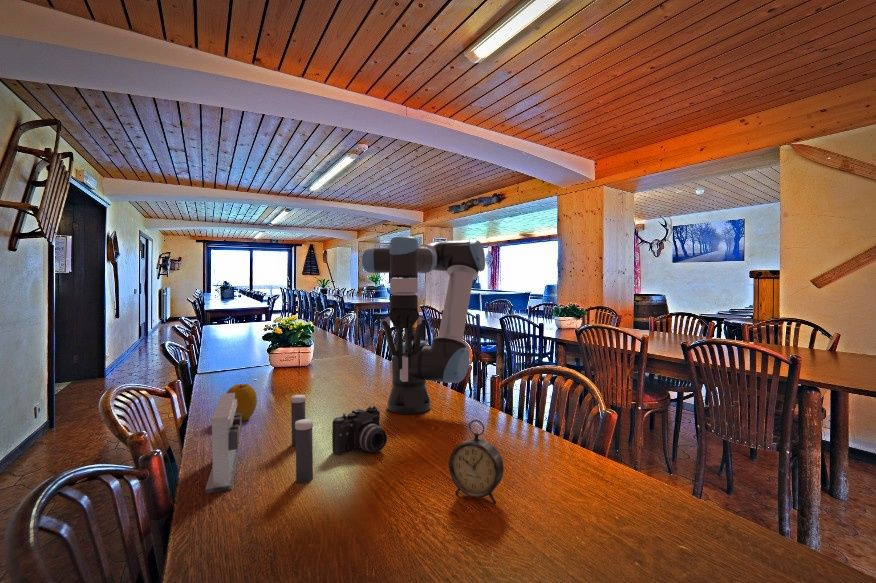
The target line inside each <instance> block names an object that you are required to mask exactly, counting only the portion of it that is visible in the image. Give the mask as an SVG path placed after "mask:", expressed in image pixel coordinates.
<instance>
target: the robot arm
mask: <svg viewBox="0 0 876 583" xmlns="http://www.w3.org/2000/svg"><path fill="white" fill-rule="evenodd" d="M389 243H390V244H389V247H383V248H381V247H380V248H377V247H373V248H366V249H365V250H364V251H363V253H362V256H361V266H362V268H363V269H364V271H365V272H367V273H369V274H371V273H373V274H390V275H389V280H390V281H389V292H390V293H391V295H389V312H388V313H387V314H388V315H387V317H386V318H384V319H381V320H380V323H379V324H380V325H381V327H382V328H383V330H384V334H385V339H386V344H387V349H388V352H389V354H390V355H391V362H392V363H391V366H392V367H391V372H392V374H391V375H392V376H391V378H392V379H391V380H392V384H391V385H392V386H391V389H390V393H389V396H388V399H387V405H386V406H387V407H386V408H387V410H388V411H389V412H392V413H395V414H398V415H400V414H401V415H416V414H422V413H425V412H427V411H429V410H431V408H432V407H431V406H432V404H431V398H430V394H429V391H428V389H427V384H426V381H430V382H438V383H439V382H441V383H446V384H450V383H452V384H457V383H460V382H462V381H463V380H464V378H465V377H466V376H467V373H468V370H469V367H470V358H471V357H470V356H471V354H470V350H468V348H467V345H466V343H465V342H464V334H465V329H466V328H465V327H466V323H467V322H466V321H467V316H468V312H469V304H470V298H471V294H472V287H473V281H475V280H476V279H477V278H478V275H479V272H480V273H481V272H483V271H484V270H486V269H485V268H486V256H485V255H486V254H485V250H484V246H483V244H482V243H481V241H479V240H476V239H475V240H474V239H465V240H464V239H463V240H440V241H434V242H431V243H423V244H420V245H419V241H418V239H417V238H416V237H414V236H396V237H395V236H394V237H392V238H391V239H390V242H389ZM433 271H439V272H446V273H447V274H448V276H449V278H448V284H447V289H446V295H445V300H444V305H443V310H442V314H441V319H440V324H439V330H438V334H437V336H435V337H434V338H433V339H432V342H431V343H432V344H431V345H427V343H426V340H422V337H423V331H424V328H425V326H426V324H427V323H428V320H427V319H426V318H423V317H421V316H420V312H419V310H418V308H419V305H418V304H419V302H418V301H419V299H418V298H419V296H418V295H417V293H418V292H419V288H418V287H419V285H418V283H419V281H418V280H419V279H418V274H428V273H431V272H433ZM391 323H392V324H393V326H394V328H395V342H394V338H393V334H392V330H391V327H390V326H391ZM415 324H417V326H416V328H415V331H414V337H413V327H414V325H415ZM403 336H404V337H403ZM403 338H404V340H403Z"/></svg>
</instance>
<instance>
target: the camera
mask: <svg viewBox="0 0 876 583" xmlns="http://www.w3.org/2000/svg"><path fill="white" fill-rule="evenodd" d="M380 416H381V411H380V410H378V407H377V406H375V405H369V407H367V408H366V410H364V409H363V408H360V407H358V409H352V410H351V413H350V412H349V413H348V414H347V413H346V412H343V413H342V416H339V417H338V416H337V417H335V418H333V420H332V432H331V434H332V436H331V437H332V438H331V441H332V445H331V446H332V454H333V455H334V456H336V457H337V456H338V457H340V456H342V455H344V454H348V453H350V452H353V451H355V450H359V449H362V450H363V451H366V452H369V453H377V452H380V451H382V450H383V449H384V448H385V446H386V444H387V440H388V435H387V432H386V431H385V430H384V428H383V427H381V425H380V418H381V417H380Z"/></svg>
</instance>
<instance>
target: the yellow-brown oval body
mask: <svg viewBox="0 0 876 583" xmlns="http://www.w3.org/2000/svg"><path fill="white" fill-rule="evenodd" d="M256 392H257V391H255V389H254V387H252V386H251V385H250V384H247V383H244V384H243V383H242V384H241V383H240V384H239V383H238V384H237V383H236V384H233V385H232V386H231V387H230V388H228V390H227V392H226V393H235V399H237V408H236V412H235V413H241V418H242V422H243V421H247V420H249V419H250V418H251V417H252V416H253V414H254V412H255V410H256V407H257V403H258V399H257V397H258V396H257V393H256Z"/></svg>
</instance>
